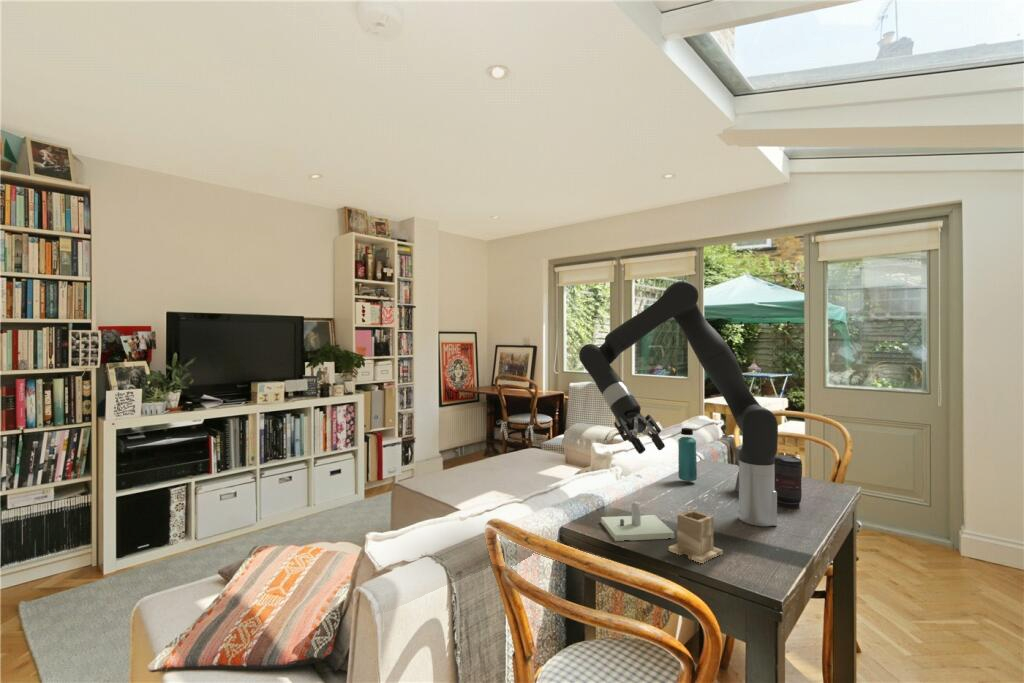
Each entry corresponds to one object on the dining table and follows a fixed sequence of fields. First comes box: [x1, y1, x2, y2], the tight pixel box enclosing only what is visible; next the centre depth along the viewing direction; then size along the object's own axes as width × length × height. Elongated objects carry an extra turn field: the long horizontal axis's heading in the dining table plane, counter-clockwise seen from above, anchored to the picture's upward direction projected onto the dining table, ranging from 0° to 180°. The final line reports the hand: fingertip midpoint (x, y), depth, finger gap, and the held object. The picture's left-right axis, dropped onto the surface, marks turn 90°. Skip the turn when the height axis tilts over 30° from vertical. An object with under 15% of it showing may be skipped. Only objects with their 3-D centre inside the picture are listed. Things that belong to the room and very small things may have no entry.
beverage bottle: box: [677, 427, 698, 482], centre depth 176 cm, size 6×7×20 cm
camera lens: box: [775, 454, 803, 509], centre depth 152 cm, size 8×8×15 cm
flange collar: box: [668, 509, 724, 564], centre depth 118 cm, size 9×9×9 cm
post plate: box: [600, 501, 675, 542], centre depth 132 cm, size 16×13×8 cm
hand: (652, 450), depth 128 cm, fingers open, 8 cm apart
